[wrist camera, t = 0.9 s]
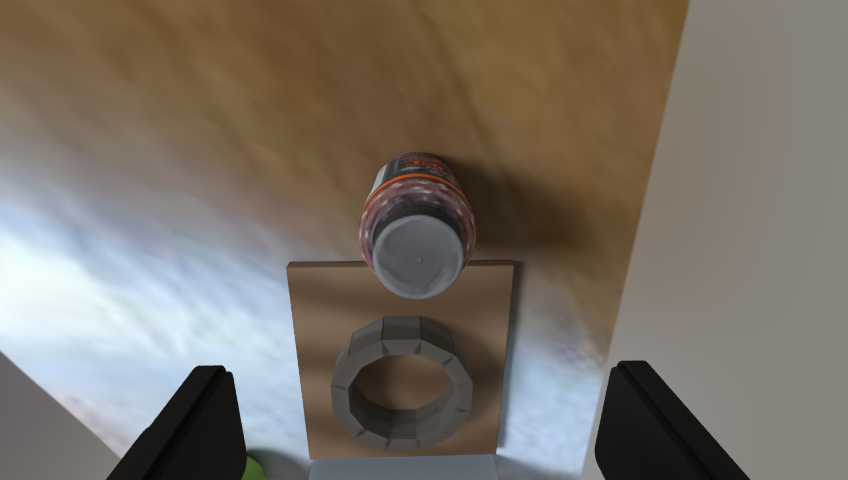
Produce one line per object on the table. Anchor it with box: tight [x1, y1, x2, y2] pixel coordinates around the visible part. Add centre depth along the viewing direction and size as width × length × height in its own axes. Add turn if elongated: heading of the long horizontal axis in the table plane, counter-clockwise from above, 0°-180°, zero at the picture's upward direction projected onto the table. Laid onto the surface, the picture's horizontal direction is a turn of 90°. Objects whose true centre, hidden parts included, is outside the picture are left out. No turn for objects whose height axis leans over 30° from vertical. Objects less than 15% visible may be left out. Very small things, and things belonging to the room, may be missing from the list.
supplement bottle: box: [358, 152, 476, 299], centre depth 23 cm, size 6×6×11 cm
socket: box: [286, 260, 514, 459], centre depth 31 cm, size 18×16×4 cm
